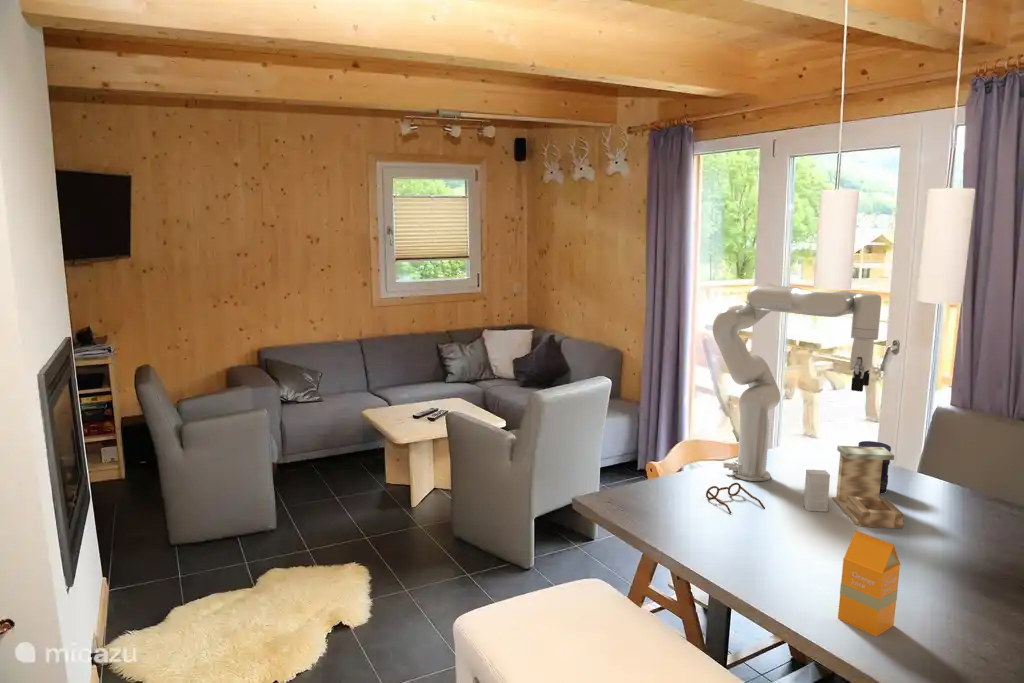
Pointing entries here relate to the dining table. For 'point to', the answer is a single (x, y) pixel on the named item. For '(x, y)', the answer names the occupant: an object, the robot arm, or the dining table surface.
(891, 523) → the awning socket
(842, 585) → the orange juice
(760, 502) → the glasses
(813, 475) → the skincare box
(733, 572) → the dining table surface
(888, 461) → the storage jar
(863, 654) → the dining table surface
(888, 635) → the dining table surface
